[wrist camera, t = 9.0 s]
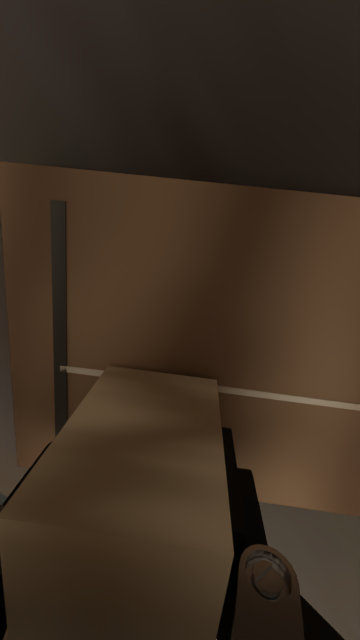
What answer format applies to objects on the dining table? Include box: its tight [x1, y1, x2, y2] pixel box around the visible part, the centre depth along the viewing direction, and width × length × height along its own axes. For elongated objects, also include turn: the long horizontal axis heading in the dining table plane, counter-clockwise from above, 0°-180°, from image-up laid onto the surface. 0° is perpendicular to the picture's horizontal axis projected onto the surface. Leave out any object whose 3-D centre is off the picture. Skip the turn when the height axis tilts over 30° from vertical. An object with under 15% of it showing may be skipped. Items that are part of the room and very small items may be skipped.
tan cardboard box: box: [0, 366, 234, 640], centre depth 10 cm, size 5×7×8 cm
